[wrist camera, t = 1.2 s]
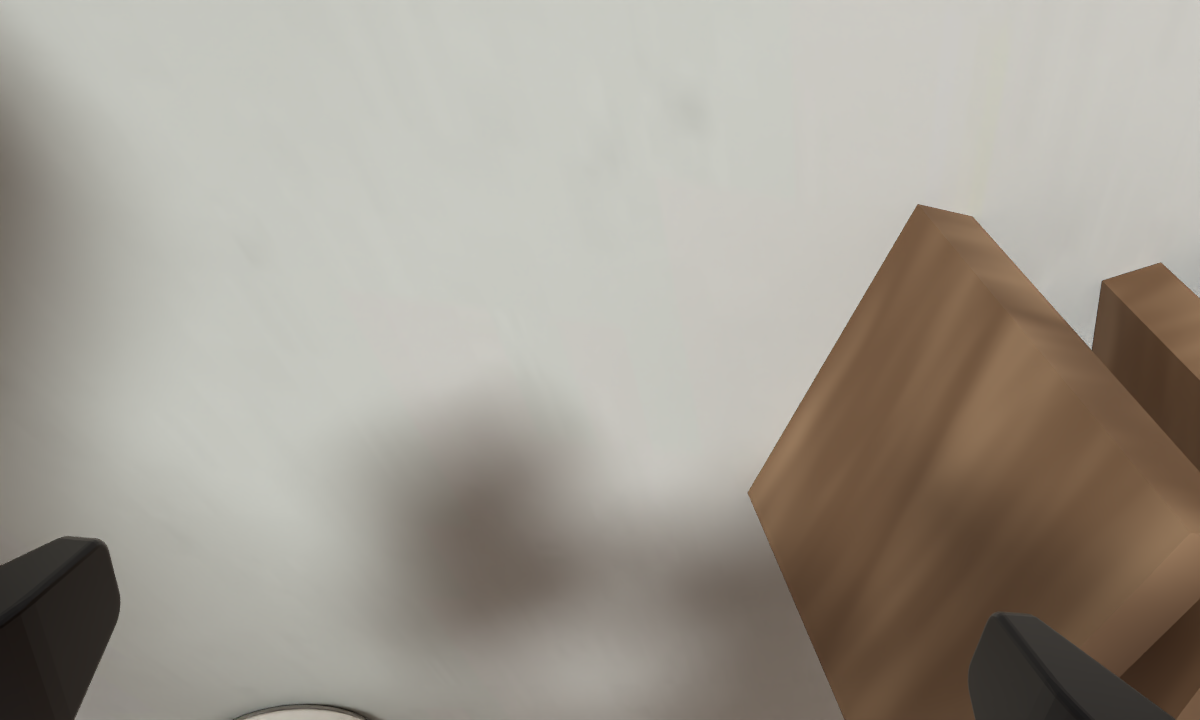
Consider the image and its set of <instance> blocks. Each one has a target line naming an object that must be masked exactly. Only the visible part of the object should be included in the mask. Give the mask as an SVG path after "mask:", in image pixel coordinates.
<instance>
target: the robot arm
mask: <svg viewBox="0 0 1200 720" xmlns="http://www.w3.org/2000/svg"><path fill="white" fill-rule="evenodd" d="M119 612H120V593H119V589H118V585H117V581H116V577H115V573H114V569H113V565H112V561H111V557H110V553H109V550H108V547H107V545H106V544H105V542H103V541H102V540H100V539H97V538H84V537H72V536H64V537H61V538H58V539H56V540H54V541H52V542H49V543H47V544H45V545H43V546H41V547H39V548H37V549H35V550H33V551H31V552H28V553H26V554H24V555H22V556H20V557H18V558H16V559H14V560H12V561H10V562H8V563H5V564H3V565H1V566H0V720H74V719H75V717H76V715H77V712H78V710H79V708H80V706H81V703H82V701H83V699H84V696H85V694H86V692H87V690H88V687H89V685H90V683H91V680H92V678H93V676H94V674H95V671H96V669H97V667H98V664H99V662H100V660H101V658H102V655H103V653H104V651H105V648H106V646H107V644H108V642H109V639H110V637H111V635H112V632H113V630H114V628H115V626H116V623H117V620H118V616H119ZM968 689H969V695H970V699H971V704H972V708H973V713H974V717H975V720H1176V719H1175V718H1174V717H1172V716H1171V715H1170V714H1168V713H1167V712H1165V711H1164V710H1163V709H1161V708H1160V707H1159V706H1157V705H1156V704H1155V703H1153V702H1152V701H1150V700H1149V699H1148V698H1146V697H1145V696H1144V695H1142V694H1141V693H1140V692H1138V691H1137V690H1135V689H1134V688H1133V687H1131V686H1130V685H1129V684H1127V683H1126V682H1125V681H1123V680H1122V679H1120V678H1119V677H1118V676H1116V675H1115V674H1114V673H1112V672H1111V671H1110V670H1108V669H1107V668H1105V667H1104V666H1103V665H1101V664H1100V663H1099V662H1097V661H1096V660H1095V659H1093V658H1092V657H1090V656H1089V655H1088V654H1086V653H1085V652H1084V651H1082V650H1081V649H1080V648H1078V647H1077V646H1075V645H1074V644H1073V643H1071V642H1070V641H1069V640H1067V639H1066V638H1065V637H1063V636H1062V635H1060V634H1059V633H1058V632H1056V631H1055V630H1054V629H1052V628H1051V627H1050V626H1048V625H1047V624H1045V623H1044V622H1043V621H1041V620H1040V619H1039V618H1037V617H1035V616H1033V615H1031V614H1027V613H1014V612H1002V611H998V612H995V613H993V614H992V615H991V616H990V617H989V618H988V620H987V622H986V625H985V627H984V630H983V632H982V635H981V637H980V640H979V642H978V644H977V647H976V649H975V652H974V654H973V657H972V659H971V662H970V665H969V670H968Z"/></svg>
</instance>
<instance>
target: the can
mask: <svg viewBox="0 0 1200 720" xmlns="http://www.w3.org/2000/svg"><path fill="white" fill-rule="evenodd" d="M234 720H367V719H366V718H364V717H362V716H360V715H358V714H356V713H353V712H350V711H347V710H344V709H340V708H335V707H330V706H321V705H289V706H280V707H274V708H268V709H264V710H260V711H256V712H252V713H249V714H246V715H244V716H241V717H238V718H236V719H234Z"/></svg>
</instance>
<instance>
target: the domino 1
mask: <svg viewBox="0 0 1200 720" xmlns="http://www.w3.org/2000/svg"><path fill="white" fill-rule="evenodd" d="M748 495H749V497H750V499H751V502H752V504H753V506H754V509H755V511H756V513H757V516H758V518H759V520H760V523H761V525H762V527H763V530H764V532H765V534H766V537H767V539H768V541H769V544H770V546H771V549H772V551H773V553H774V556H775V558H776V560H777V563H778V565H779V567H780V570H781V572H782V574H783V577H784V579H785V581H786V584H787V586H788V588H789V591H790V593H791V595H792V598H793V600H794V602H795V605H796V607H797V609H798V612H799V614H800V616H801V619H802V621H803V623H804V626H805V628H806V630H807V633H808V635H809V637H810V640H811V642H812V644H813V647H814V649H815V651H816V654H817V656H818V658H819V661H820V663H821V665H822V668H823V670H824V672H825V675H826V677H827V679H828V682H829V684H830V687H831V689H832V691H833V694H834V696H835V698H836V701H837V703H838V705H839V708H840V710H841V712H842V715H843V717H844V719H845V720H975V717H974V713H973V708H972V704H971V699H970V695H969V689H968V670H969V665H970V662H971V659H972V657H973V654H974V652H975V649H976V647H977V644H978V642H979V640H980V637H981V635H982V632H983V630H984V627H985V625H986V622H987V620H988V618H989V617H990V616H991V615H992V614H993V613H995V612H998V611H1002V612H1014V613H1027V614H1031V615H1033V616H1035V617H1037V618H1039V619H1040V620H1041V621H1043V622H1044V623H1045V624H1047V625H1048V626H1050V627H1051V628H1052V629H1054V630H1055V631H1056V632H1058V633H1059V634H1060V635H1062V636H1063V637H1065V638H1066V639H1067V640H1069V641H1070V642H1071V643H1073V644H1074V645H1075V646H1077V647H1078V648H1080V649H1081V650H1082V651H1084V652H1085V653H1086V654H1088V655H1089V656H1090V657H1092V658H1093V659H1095V660H1096V661H1097V662H1099V663H1100V664H1101V665H1103V666H1104V667H1105V668H1107V669H1108V670H1110V671H1111V672H1112V673H1114V674H1115V675H1116V676H1118V677H1120V676H1121V675H1122V674H1123V673H1124V672H1125V671H1126V670H1127V669H1128V668H1129V667H1130V666H1131V665H1132V664H1134V663H1135V662H1136V661H1137V660H1138V659H1139V658H1140V657H1141V656H1142V655H1143V654H1144V653H1145V652H1146V651H1147V650H1148V649H1149V648H1150V647H1151V646H1152V645H1153V644H1154V643H1155V642H1156V641H1157V640H1158V639H1159V638H1160V637H1161V636H1162V635H1163V634H1164V633H1165V632H1166V631H1167V630H1168V629H1169V628H1170V627H1171V626H1172V625H1173V624H1174V623H1175V622H1176V621H1178V620H1179V619H1180V618H1181V617H1182V616H1183V615H1184V614H1185V613H1186V612H1187V611H1188V610H1189V609H1190V608H1191V607H1192V606H1193V605H1194V604H1195V603H1196V602H1197V601H1198V600H1199V599H1200V472H1199V471H1198V469H1197V468H1196V467H1195V466H1194V465H1193V464H1192V463H1191V462H1190V460H1189V459H1188V458H1187V457H1186V456H1185V455H1184V454H1183V453H1182V451H1181V450H1180V449H1179V448H1178V447H1177V446H1176V445H1175V444H1174V442H1173V441H1172V440H1171V439H1170V438H1169V437H1168V436H1167V435H1166V433H1165V432H1164V431H1163V430H1162V429H1161V428H1160V427H1159V426H1158V424H1157V423H1156V422H1155V421H1154V420H1153V419H1152V418H1151V417H1150V415H1149V414H1148V413H1147V412H1146V411H1145V410H1144V409H1143V408H1142V406H1141V405H1140V404H1139V403H1138V402H1137V401H1136V400H1135V399H1134V397H1133V396H1132V395H1131V394H1130V393H1129V392H1128V391H1127V390H1126V388H1125V387H1124V386H1123V385H1122V384H1121V383H1120V382H1119V381H1118V379H1117V378H1116V377H1115V376H1114V375H1113V374H1112V373H1111V372H1110V370H1109V369H1108V368H1107V367H1106V366H1105V365H1104V364H1103V363H1102V361H1101V360H1100V359H1099V358H1098V357H1097V356H1096V355H1095V354H1094V352H1093V351H1092V350H1091V349H1090V348H1089V347H1088V346H1087V345H1086V343H1085V342H1084V341H1083V340H1082V339H1081V338H1080V337H1079V336H1078V334H1077V333H1076V332H1075V331H1074V330H1073V329H1072V328H1071V327H1070V325H1069V324H1068V323H1067V322H1066V321H1065V320H1064V319H1063V318H1062V317H1061V315H1060V314H1059V313H1058V312H1057V311H1056V310H1055V309H1054V308H1053V306H1052V305H1051V304H1050V303H1049V302H1048V301H1047V300H1046V299H1045V297H1044V296H1043V295H1042V294H1041V293H1040V292H1039V291H1038V290H1037V288H1036V287H1035V286H1034V285H1033V284H1032V283H1031V282H1030V281H1029V279H1028V278H1027V277H1026V276H1025V275H1024V274H1023V273H1022V272H1021V270H1020V269H1019V268H1018V267H1017V266H1016V265H1015V264H1014V263H1013V261H1012V260H1011V259H1010V258H1009V257H1008V256H1007V255H1006V254H1005V252H1004V251H1003V250H1002V249H1001V248H1000V247H999V246H998V245H997V243H996V242H995V241H994V240H993V239H992V238H991V237H990V236H989V234H988V233H987V232H986V231H985V230H984V229H983V228H982V227H981V225H980V224H979V223H978V222H977V221H976V220H975V219H974V218H973V217H972V216H968V215H963V214H959V213H954V212H950V211H946V210H941V209H937V208H932V207H928V206H924V205H919V204H918V205H917V206H916V208H915V210H914V211H913V213H912V215H911V216H910V218H909V220H908V222H907V223H906V225H905V227H904V228H903V230H902V232H901V233H900V235H899V237H898V239H897V240H896V242H895V244H894V245H893V247H892V249H891V250H890V252H889V254H888V255H887V257H886V259H885V261H884V262H883V264H882V266H881V267H880V269H879V271H878V272H877V274H876V276H875V278H874V279H873V281H872V283H871V284H870V286H869V288H868V289H867V291H866V293H865V295H864V296H863V298H862V300H861V301H860V303H859V305H858V306H857V308H856V310H855V311H854V313H853V315H852V317H851V318H850V320H849V322H848V323H847V325H846V327H845V328H844V330H843V332H842V334H841V335H840V337H839V339H838V340H837V342H836V344H835V345H834V347H833V349H832V351H831V352H830V354H829V356H828V357H827V359H826V361H825V362H824V364H823V366H822V367H821V369H820V371H819V373H818V374H817V376H816V378H815V379H814V381H813V383H812V384H811V386H810V388H809V390H808V391H807V393H806V395H805V396H804V398H803V400H802V401H801V403H800V405H799V407H798V408H797V410H796V412H795V413H794V415H793V417H792V418H791V420H790V422H789V423H788V425H787V427H786V429H785V430H784V432H783V434H782V435H781V437H780V439H779V440H778V442H777V444H776V446H775V447H774V449H773V451H772V452H771V454H770V456H769V457H768V459H767V461H766V463H765V464H764V466H763V468H762V469H761V471H760V473H759V474H758V476H757V478H756V479H755V481H754V483H753V485H752V486H751V488H750V490H749V491H748Z"/></svg>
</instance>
